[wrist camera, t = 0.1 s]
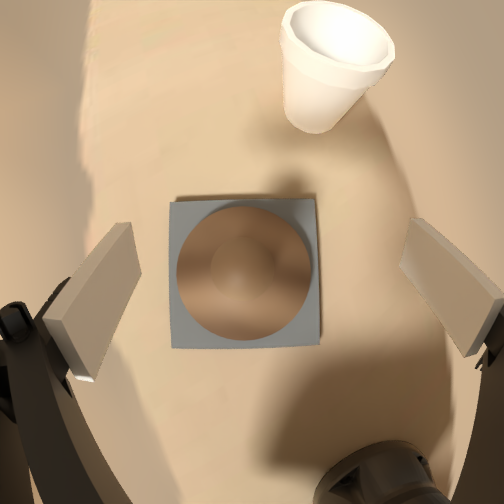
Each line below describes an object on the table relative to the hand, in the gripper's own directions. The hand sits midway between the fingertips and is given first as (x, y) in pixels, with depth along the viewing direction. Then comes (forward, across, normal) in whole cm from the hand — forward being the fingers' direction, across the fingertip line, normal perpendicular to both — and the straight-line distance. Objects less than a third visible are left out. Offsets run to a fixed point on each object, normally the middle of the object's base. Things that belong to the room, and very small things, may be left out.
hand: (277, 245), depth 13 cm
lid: (+11, +2, +9) cm, 14 cm away
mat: (+12, +2, +9) cm, 15 cm away
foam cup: (+23, -6, -5) cm, 24 cm away
